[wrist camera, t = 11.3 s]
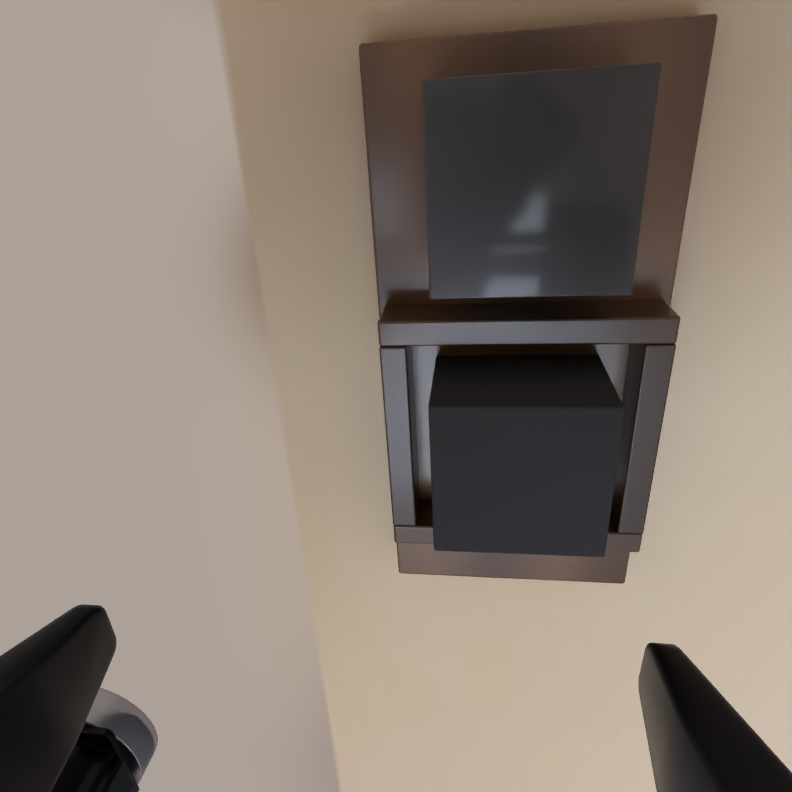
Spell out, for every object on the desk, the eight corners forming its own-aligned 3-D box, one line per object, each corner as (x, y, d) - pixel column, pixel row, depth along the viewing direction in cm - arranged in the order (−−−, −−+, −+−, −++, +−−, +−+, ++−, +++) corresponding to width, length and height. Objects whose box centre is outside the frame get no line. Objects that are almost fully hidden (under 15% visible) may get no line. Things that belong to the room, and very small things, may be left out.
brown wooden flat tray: (402, 552, 24) (390, 624, 20) (365, 47, 15) (336, 32, 12) (617, 561, 22) (642, 639, 19) (701, 19, 14) (769, -6, 11)
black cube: (439, 483, 20) (433, 551, 17) (435, 354, 18) (427, 406, 15) (584, 487, 20) (605, 558, 16) (599, 353, 17) (626, 407, 14)
